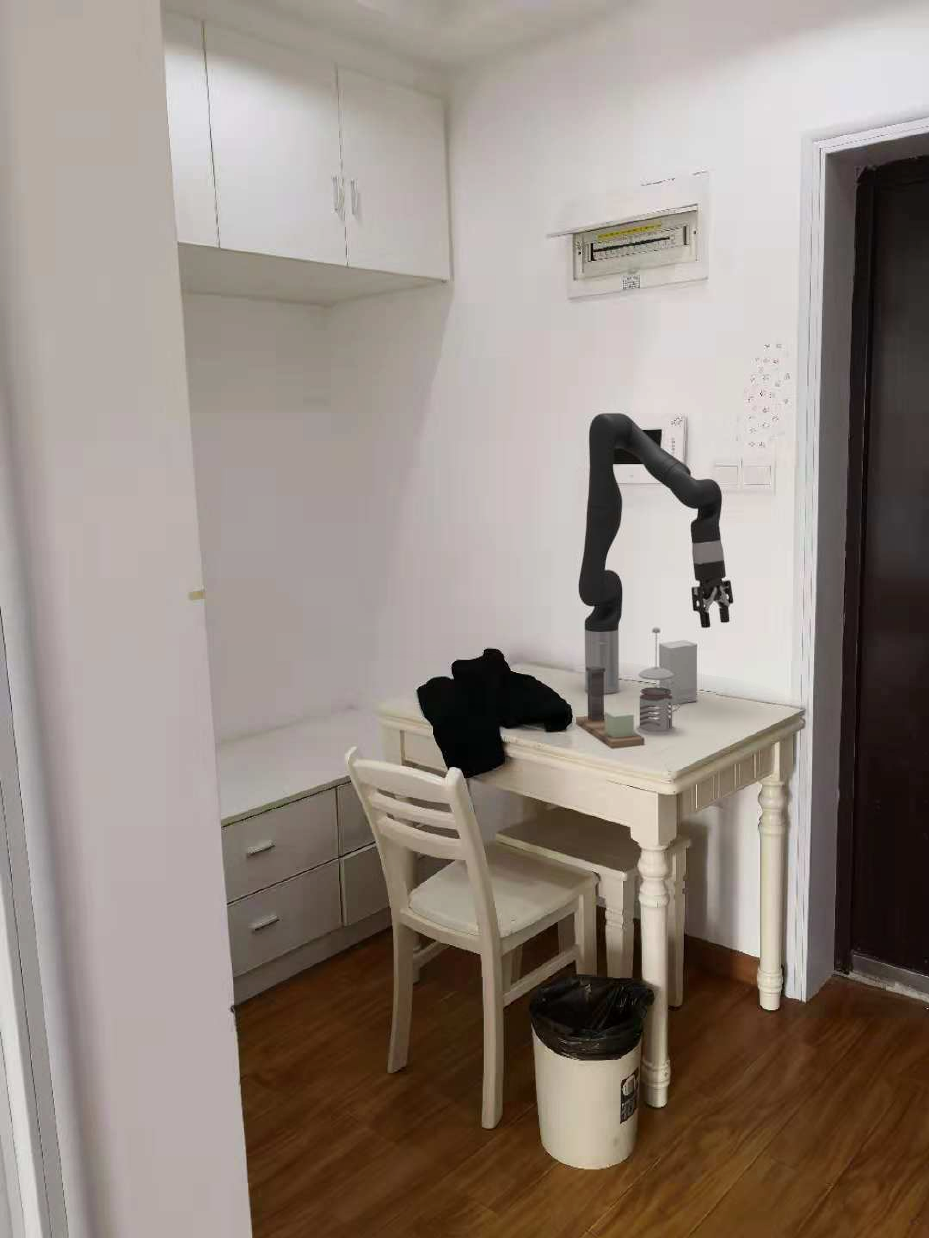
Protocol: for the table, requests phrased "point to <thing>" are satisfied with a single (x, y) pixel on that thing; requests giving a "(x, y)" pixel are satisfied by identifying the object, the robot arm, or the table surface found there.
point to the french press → (656, 701)
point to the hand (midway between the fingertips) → (715, 625)
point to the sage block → (619, 723)
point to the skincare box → (680, 669)
